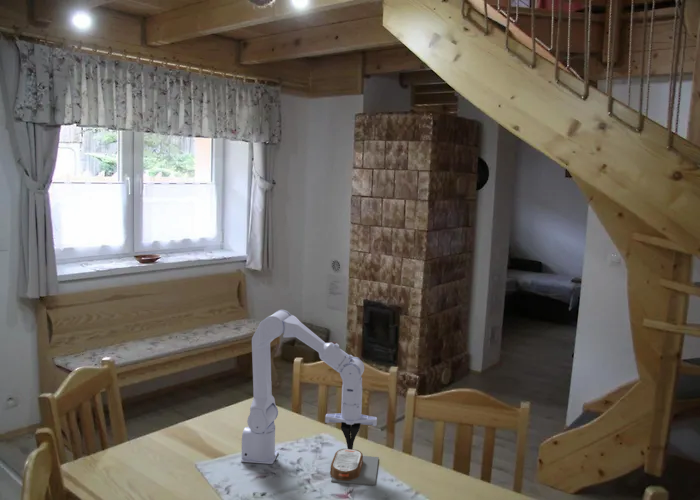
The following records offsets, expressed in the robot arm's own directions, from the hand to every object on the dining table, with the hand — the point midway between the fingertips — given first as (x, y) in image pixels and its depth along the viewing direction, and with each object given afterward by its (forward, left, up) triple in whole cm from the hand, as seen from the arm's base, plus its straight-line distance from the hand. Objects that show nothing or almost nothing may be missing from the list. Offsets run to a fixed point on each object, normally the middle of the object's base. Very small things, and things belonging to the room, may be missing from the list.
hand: (350, 447), depth 170 cm
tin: (-5, 0, -4) cm, 7 cm away
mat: (+2, 0, -6) cm, 7 cm away
